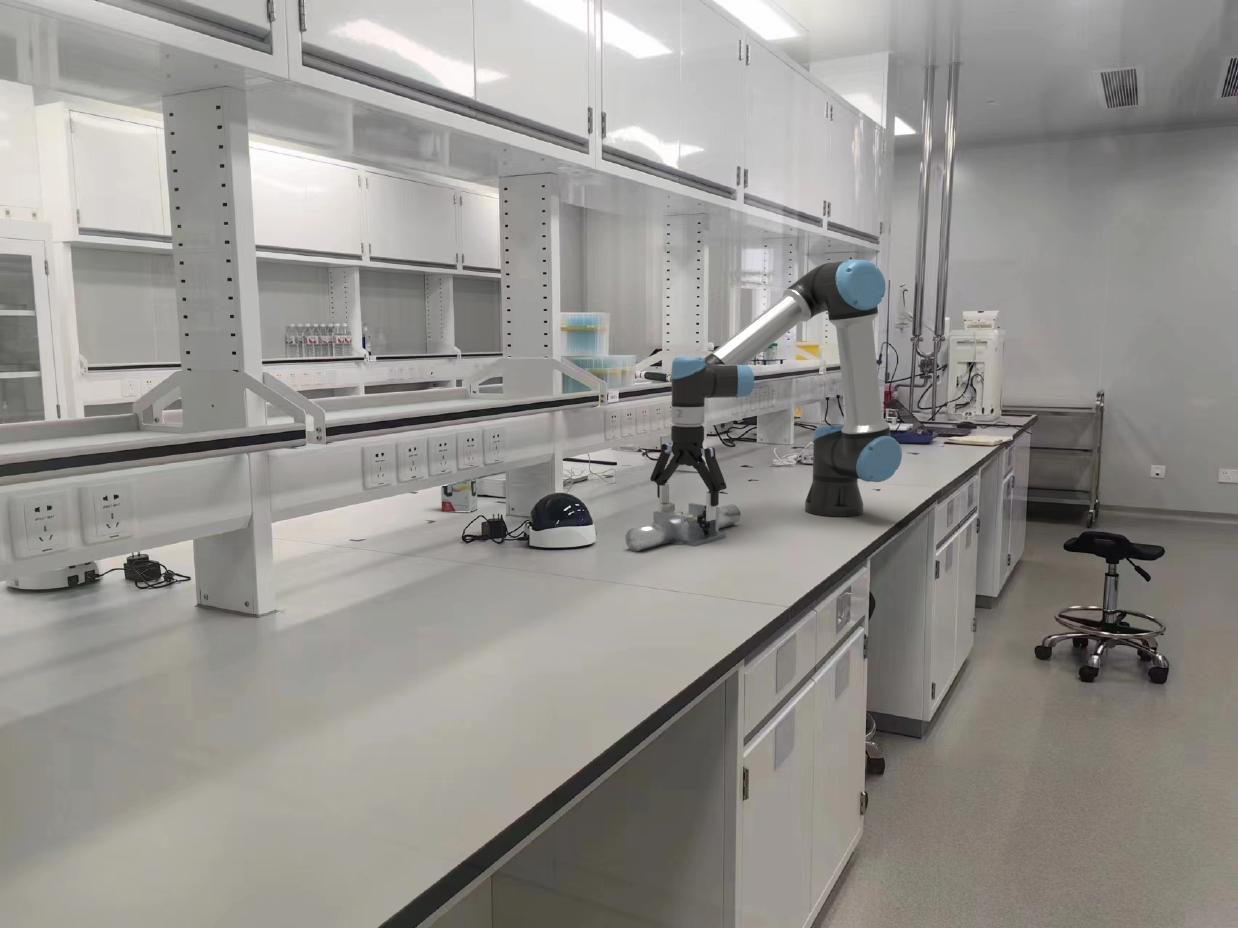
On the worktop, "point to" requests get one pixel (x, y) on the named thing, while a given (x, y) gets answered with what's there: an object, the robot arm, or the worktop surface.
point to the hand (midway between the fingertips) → (687, 516)
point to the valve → (687, 516)
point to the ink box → (459, 497)
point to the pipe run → (681, 528)
